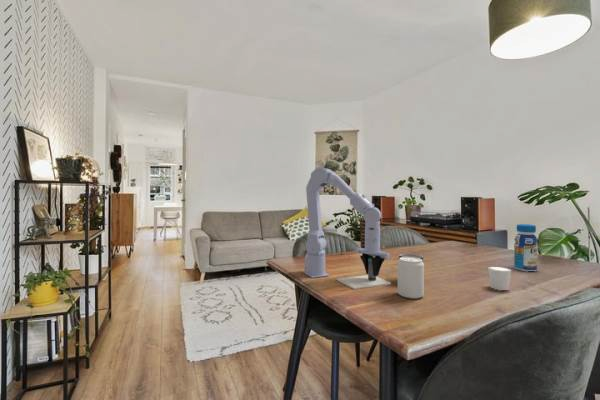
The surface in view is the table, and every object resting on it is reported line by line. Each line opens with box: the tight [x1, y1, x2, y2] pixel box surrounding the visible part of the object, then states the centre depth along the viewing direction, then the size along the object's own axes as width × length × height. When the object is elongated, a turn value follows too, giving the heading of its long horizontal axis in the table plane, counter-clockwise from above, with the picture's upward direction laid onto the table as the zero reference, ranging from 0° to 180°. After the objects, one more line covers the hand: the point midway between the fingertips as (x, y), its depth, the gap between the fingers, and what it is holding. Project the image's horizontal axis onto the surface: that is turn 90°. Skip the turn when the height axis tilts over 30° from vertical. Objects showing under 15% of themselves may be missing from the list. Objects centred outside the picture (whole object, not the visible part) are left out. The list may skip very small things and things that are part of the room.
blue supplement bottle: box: [513, 223, 539, 272], centre depth 132 cm, size 8×8×20 cm
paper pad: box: [336, 274, 392, 290], centre depth 112 cm, size 12×16×1 cm
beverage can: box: [397, 257, 425, 300], centre depth 98 cm, size 8×8×12 cm
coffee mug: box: [398, 252, 424, 263], centre depth 114 cm, size 12×9×10 cm
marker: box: [367, 258, 377, 281], centre depth 114 cm, size 3×3×8 cm
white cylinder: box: [487, 266, 512, 291], centre depth 106 cm, size 7×7×7 cm
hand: (372, 274), depth 114 cm, fingers closed on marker, 3 cm apart
